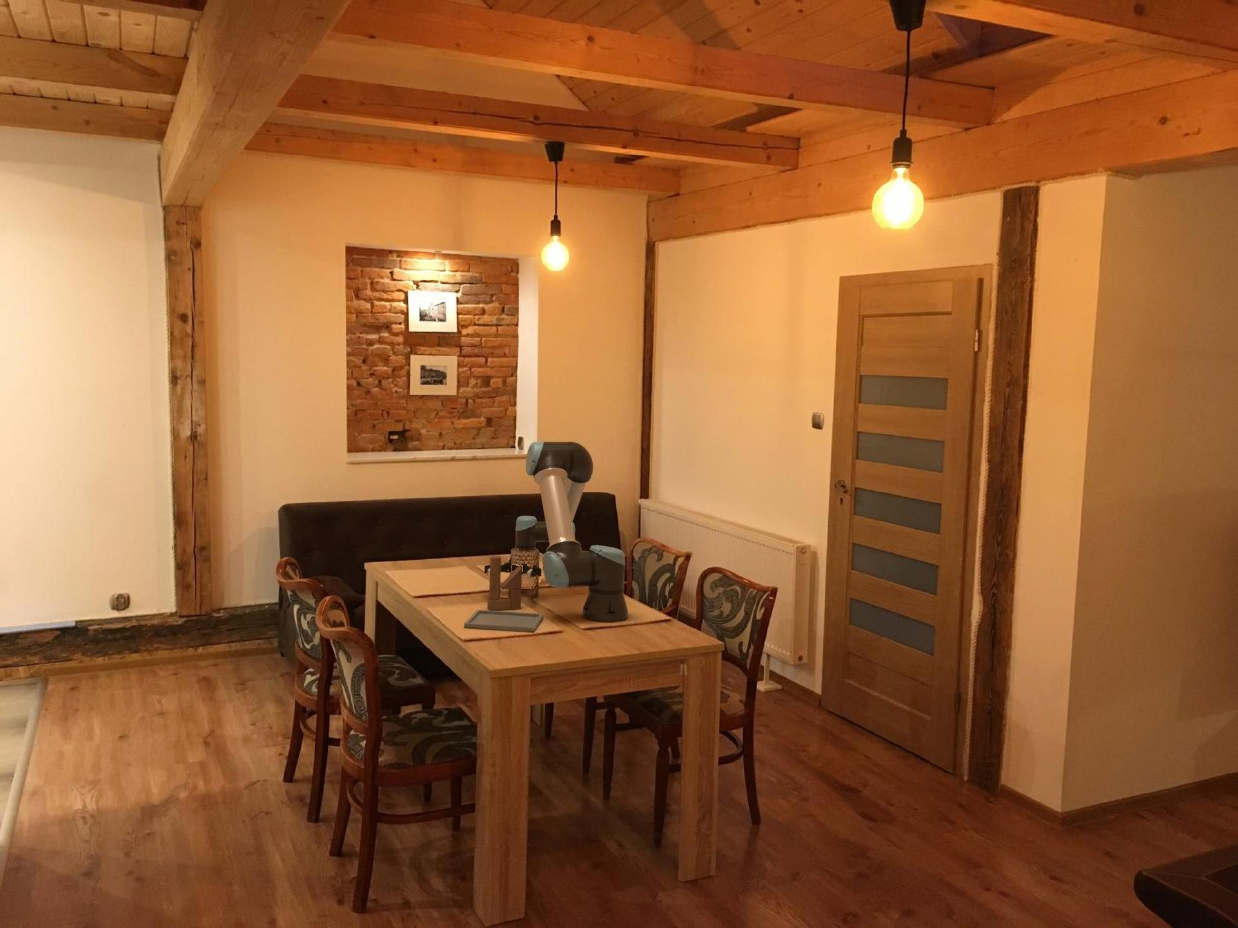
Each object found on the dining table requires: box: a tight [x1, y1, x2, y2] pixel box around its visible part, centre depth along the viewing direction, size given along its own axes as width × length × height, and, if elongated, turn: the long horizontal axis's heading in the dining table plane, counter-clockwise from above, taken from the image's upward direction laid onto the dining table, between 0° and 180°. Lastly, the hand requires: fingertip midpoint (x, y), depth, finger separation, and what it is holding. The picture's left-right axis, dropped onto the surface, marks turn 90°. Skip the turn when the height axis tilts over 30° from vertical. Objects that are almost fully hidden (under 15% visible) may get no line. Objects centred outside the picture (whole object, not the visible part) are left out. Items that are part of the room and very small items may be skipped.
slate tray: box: [463, 609, 544, 633], centre depth 338 cm, size 22×18×2 cm
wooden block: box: [487, 555, 523, 611], centre depth 356 cm, size 4×11×18 cm, turn 113°
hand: (508, 575), depth 363 cm, fingers open, 13 cm apart
